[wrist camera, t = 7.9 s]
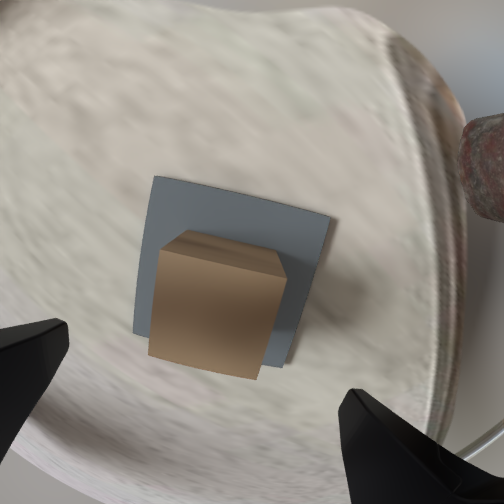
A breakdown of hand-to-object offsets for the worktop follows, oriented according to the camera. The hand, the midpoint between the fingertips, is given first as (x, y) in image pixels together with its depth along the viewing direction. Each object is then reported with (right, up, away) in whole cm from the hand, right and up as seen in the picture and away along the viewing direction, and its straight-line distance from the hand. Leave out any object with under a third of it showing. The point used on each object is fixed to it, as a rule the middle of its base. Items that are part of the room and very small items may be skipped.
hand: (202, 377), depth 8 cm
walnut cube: (0, +2, +9) cm, 9 cm away
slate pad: (0, +2, +9) cm, 9 cm away
